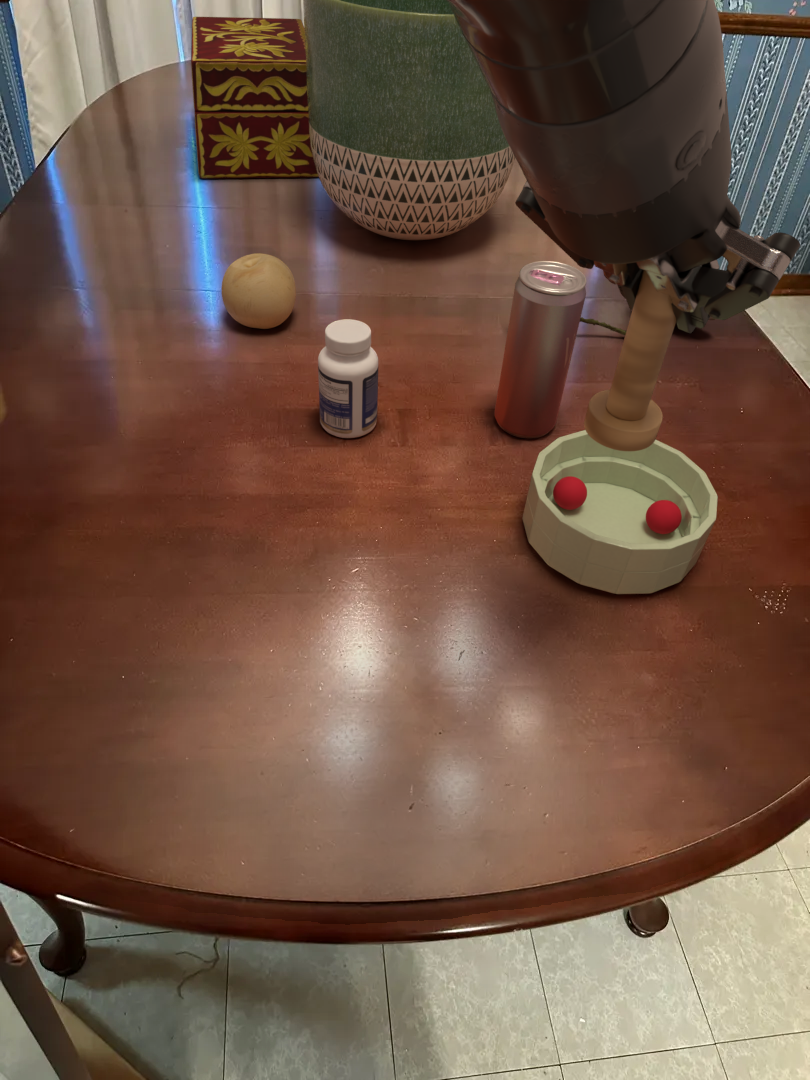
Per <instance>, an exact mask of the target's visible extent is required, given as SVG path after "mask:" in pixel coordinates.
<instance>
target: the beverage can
mask: <svg viewBox="0 0 810 1080" xmlns="http://www.w3.org/2000/svg"><path fill="white" fill-rule="evenodd" d="M586 285H587V277H586V275H585V274H584V273H583V272H582V271H581V270H580V269H578V268H577V267H575V266H573V265H570V264H568V263H565V262H559V261H553V260H539V261H533V262H530V263H527V264H525V265H523V266H522V267H521V268H520V271H519V274H518V277H517V279H516V281H515V284H514V290H513V296H512V303H511V308H510V314H509V320H508V322H509V323H508V327H507V334H506V339H505V346H504V350H503V358H502V364H501V370H500V376H499V381H498V388H497V395H496V400H495V407H494V413H493V414H494V418H495V420H496V423H497V424H498V426H499V428H500V429H502V430H503V432H505V433H507V434H509V435H510V436H513V437H516V438H520V439H530V440H531V439H537V438H541V437H543V436H545V435H547V434H549V433H550V432H551V431H552V430H553V429H554V428H555V426H556V424H557V421H558V416H559V412H560V407H561V403H562V399H563V395H564V391H565V386H566V382H567V378H568V373H569V369H570V365H571V360H572V356H573V352H574V347H575V343H576V338H577V335H578V331H579V326H580V323H581V322H580V318H581V317H582V315H583V310H584V305H585V300H586V295H587V289H586V287H587V286H586Z"/></svg>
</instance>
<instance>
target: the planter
mask: <svg viewBox="0 0 810 1080" xmlns="http://www.w3.org/2000/svg"><path fill="white" fill-rule="evenodd" d="M302 5H303V26H304V31H305V49H306V75H307V97H308V115H309V134H310V143H311V150H312V154H313V159H314V163H315V166H316V170H317V173H318V176H319V177H318V178H319V180H320V183H321V185H322V187H323V189H324V191H325V193H326V194H327V196H328V198H330V200H331V201H332V202H333V203H334V205H335V206H336V207H337V208H338V209H339V210H340V211H341V212H342V213H343V214H344V215H345V216H347V217H348V218H349V219H350V220H351V221H353V222H355V224H357V225H359V226H361V227H362V228H364V229H366V230H368V231H370V232H372V233H374V234H377V235H380V236H382V237H386V238H391V239H395V240H403V241H427V240H434V239H435V240H436V239H440V238H443V237H444V238H445V237H447V236H449V235H452V234H455V233H457V232H459V231H461V230H463V229H465V228H467V227H468V226H470V225H472V224H473V223H475V222H476V221H478V220H479V219H480V218H481V217H483V215H485V214H486V213H487V212H488V211H489V210H490V209H491V208H492V207H493V205H494V204H495V203H496V202H497V201H498V199H499V198H500V196H501V194H502V192H503V190H504V189H505V186H506V184H507V182H508V180H509V178H510V176H511V173H512V169H513V166H514V163H515V160H516V158H515V156H514V154H513V152H512V150H511V148H510V146H509V144H508V142H507V140H506V138H505V136H504V133H503V131H502V129H501V126H500V123H499V119H498V116H497V113H496V110H495V106H494V102H493V98H492V94H491V92H490V89H489V87H488V85H487V83H486V81H485V79H484V77H483V75H482V73H481V71H480V69H479V67H478V65H477V63H476V61H475V59H474V57H473V55H472V52H471V50H470V48H469V46H468V44H467V42H466V40H465V38H464V36H463V34H462V32H461V30H460V28H459V25H458V23H457V21H456V19H455V16H454V14H453V12H452V10H451V7H450V5H449V2H447V1H446V0H302Z"/></svg>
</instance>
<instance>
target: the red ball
mask: <svg viewBox="0 0 810 1080" xmlns="http://www.w3.org/2000/svg"><path fill="white" fill-rule="evenodd" d="M553 497H554V500H555V502H556V503H557V505H559V506H560V507H561V508H563V509H567V510H573V509H577V508H579V507H580V506H581V505H582V504H583V503H584V502H585V500H586V498H587V488H586V486H585V484H584V483H583V481H581V480H580V479H579V478H576V477H572V476H568V477H564V478H562V479H560V480H559V481H558V482H557V483H556V485H555V487H554V490H553Z"/></svg>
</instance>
